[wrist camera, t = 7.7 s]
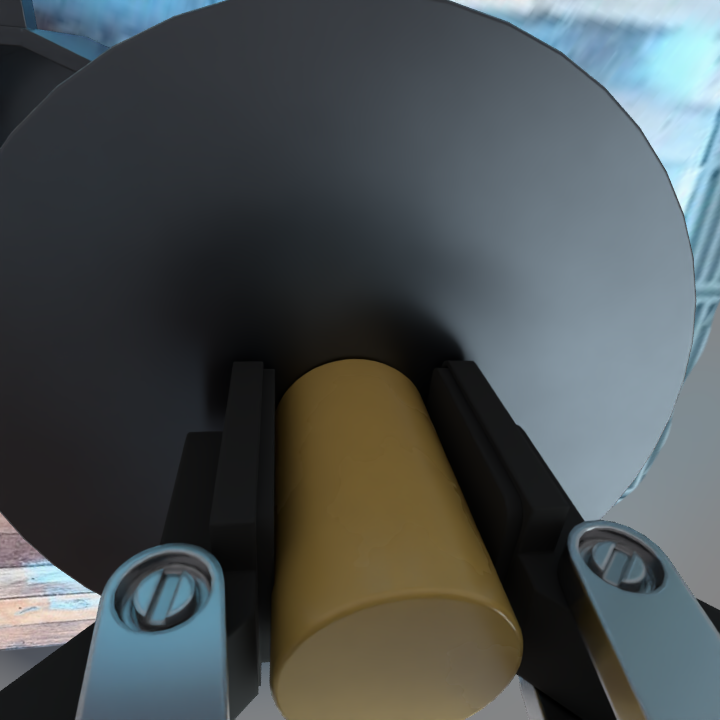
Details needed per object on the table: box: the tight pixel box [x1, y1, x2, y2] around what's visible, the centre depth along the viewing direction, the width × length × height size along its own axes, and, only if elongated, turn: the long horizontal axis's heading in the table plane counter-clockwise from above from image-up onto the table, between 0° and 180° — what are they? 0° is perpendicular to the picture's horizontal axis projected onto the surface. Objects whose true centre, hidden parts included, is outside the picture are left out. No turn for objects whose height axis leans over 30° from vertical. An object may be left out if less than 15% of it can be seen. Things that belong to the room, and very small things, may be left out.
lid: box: [0, 0, 696, 720], centre depth 9 cm, size 14×14×6 cm
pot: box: [0, 0, 109, 148], centre depth 24 cm, size 13×19×8 cm
